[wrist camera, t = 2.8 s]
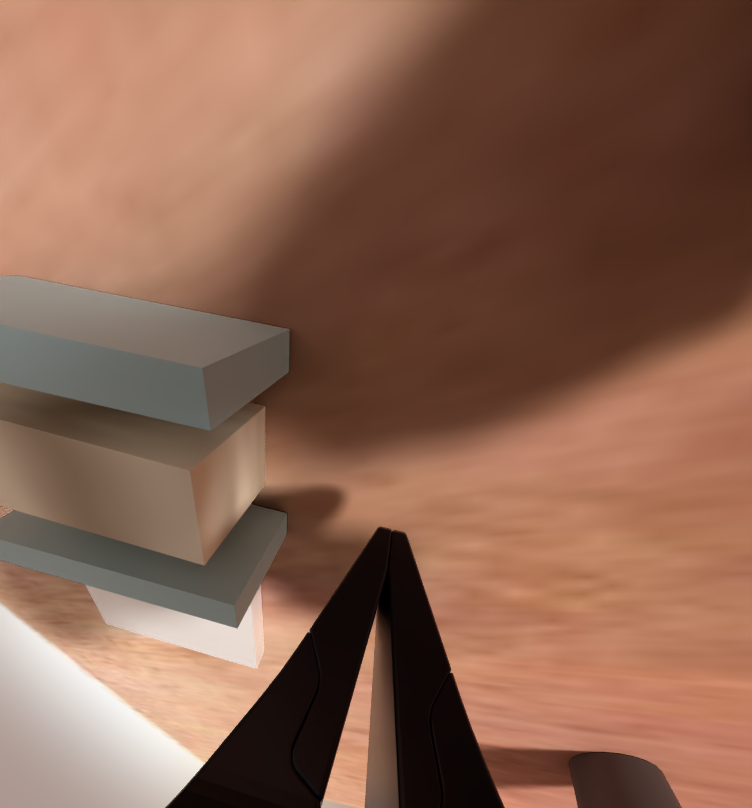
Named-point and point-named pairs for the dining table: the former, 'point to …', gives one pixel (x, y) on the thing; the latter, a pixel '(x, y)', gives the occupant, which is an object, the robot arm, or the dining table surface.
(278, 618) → the dining table surface
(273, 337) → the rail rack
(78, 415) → the maple block
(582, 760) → the coffee cup
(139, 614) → the ceramic tile
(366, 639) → the robot arm
